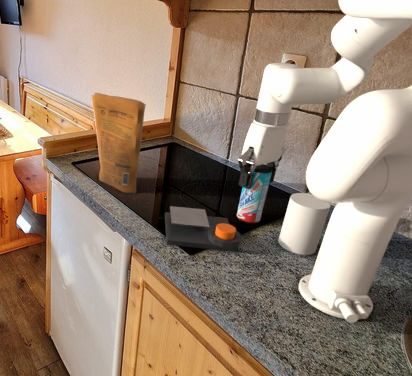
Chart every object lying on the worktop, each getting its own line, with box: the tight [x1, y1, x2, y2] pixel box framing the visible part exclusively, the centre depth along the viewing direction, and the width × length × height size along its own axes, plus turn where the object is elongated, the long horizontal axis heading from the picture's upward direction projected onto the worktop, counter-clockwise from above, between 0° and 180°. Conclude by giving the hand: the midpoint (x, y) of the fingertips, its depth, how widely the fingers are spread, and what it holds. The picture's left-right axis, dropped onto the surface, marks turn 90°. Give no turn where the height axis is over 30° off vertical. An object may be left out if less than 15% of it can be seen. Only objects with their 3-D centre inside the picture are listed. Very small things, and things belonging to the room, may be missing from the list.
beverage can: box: [236, 164, 273, 225], centre depth 105 cm, size 6×6×15 cm
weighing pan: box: [169, 205, 210, 228], centre depth 102 cm, size 9×9×1 cm
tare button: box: [215, 223, 237, 240], centre depth 95 cm, size 4×4×2 cm
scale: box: [164, 211, 243, 253], centre depth 100 cm, size 15×17×3 cm
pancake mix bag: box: [90, 92, 147, 194], centre depth 120 cm, size 7×19×28 cm, turn 39°
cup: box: [277, 192, 331, 256], centre depth 95 cm, size 8×8×12 cm
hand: (255, 183), depth 104 cm, fingers open, 8 cm apart
